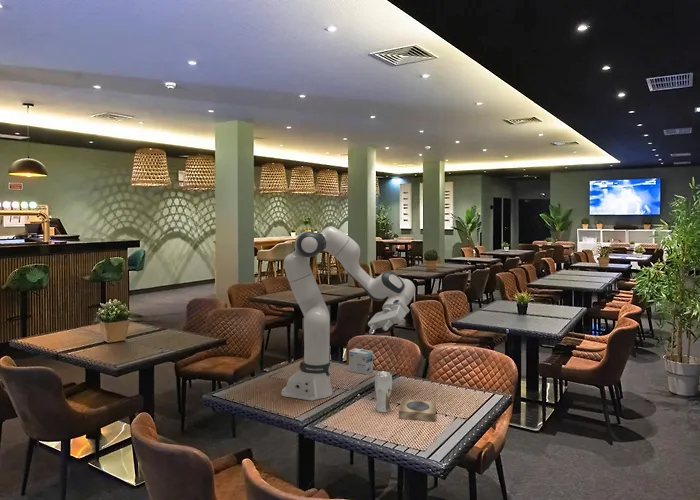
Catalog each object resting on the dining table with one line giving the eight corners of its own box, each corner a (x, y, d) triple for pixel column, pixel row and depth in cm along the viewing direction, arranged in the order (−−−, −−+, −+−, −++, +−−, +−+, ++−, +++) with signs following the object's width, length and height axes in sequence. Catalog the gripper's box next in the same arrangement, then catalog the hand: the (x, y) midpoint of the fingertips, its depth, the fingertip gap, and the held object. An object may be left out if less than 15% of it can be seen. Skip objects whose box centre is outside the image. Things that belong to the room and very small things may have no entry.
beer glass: (390, 413, 204) (391, 376, 203) (373, 412, 205) (373, 375, 204) (392, 407, 210) (393, 371, 209) (375, 406, 212) (376, 370, 211)
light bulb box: (373, 371, 259) (373, 350, 258) (366, 375, 253) (366, 353, 252) (355, 368, 264) (355, 347, 264) (348, 371, 259) (348, 350, 258)
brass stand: (398, 418, 199) (398, 410, 199) (401, 406, 212) (401, 398, 212) (435, 421, 197) (435, 413, 196) (435, 409, 209) (435, 401, 209)
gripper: (374, 308, 231) (358, 330, 223) (403, 299, 215) (387, 322, 207) (383, 318, 232) (367, 340, 224) (412, 309, 216) (397, 333, 208)
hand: (377, 331), depth 215 cm, fingers open, 8 cm apart
